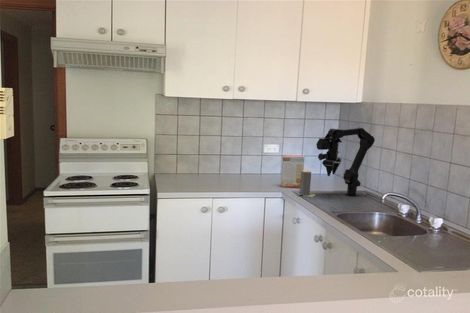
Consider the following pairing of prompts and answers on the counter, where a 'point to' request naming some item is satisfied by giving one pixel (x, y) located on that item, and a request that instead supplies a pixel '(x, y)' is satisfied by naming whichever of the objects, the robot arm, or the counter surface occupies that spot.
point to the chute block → (305, 182)
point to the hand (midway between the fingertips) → (331, 175)
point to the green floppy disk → (309, 195)
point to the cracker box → (291, 170)
